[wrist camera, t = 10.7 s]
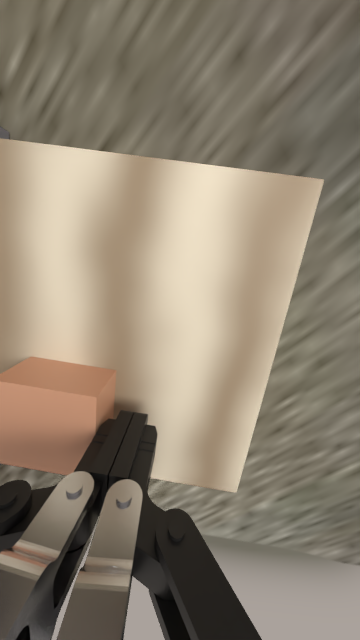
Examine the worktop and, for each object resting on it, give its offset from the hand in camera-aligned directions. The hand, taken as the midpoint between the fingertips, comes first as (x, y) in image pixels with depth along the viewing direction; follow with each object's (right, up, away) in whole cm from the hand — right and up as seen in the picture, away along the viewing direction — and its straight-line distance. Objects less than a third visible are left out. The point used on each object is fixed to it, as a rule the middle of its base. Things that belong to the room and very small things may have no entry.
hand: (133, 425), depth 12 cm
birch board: (0, +5, +3) cm, 6 cm away
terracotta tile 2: (-4, +1, +1) cm, 4 cm away
